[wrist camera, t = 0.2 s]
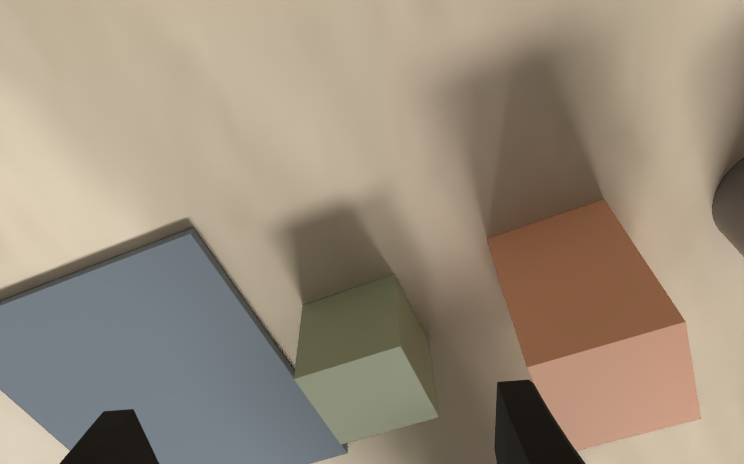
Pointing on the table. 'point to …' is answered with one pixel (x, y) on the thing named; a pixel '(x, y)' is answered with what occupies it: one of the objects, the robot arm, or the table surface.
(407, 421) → the olive cube
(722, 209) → the dark grey cylinder
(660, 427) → the terracotta block
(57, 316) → the slate mat
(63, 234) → the table surface
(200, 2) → the table surface
